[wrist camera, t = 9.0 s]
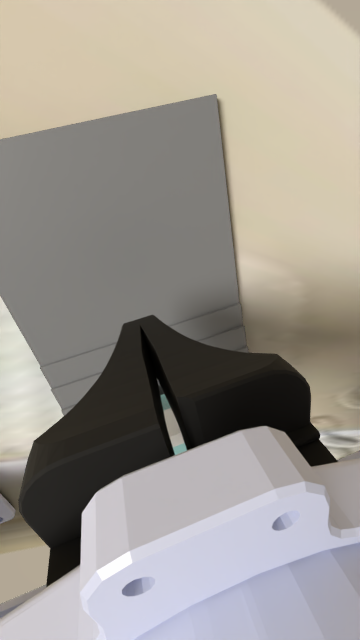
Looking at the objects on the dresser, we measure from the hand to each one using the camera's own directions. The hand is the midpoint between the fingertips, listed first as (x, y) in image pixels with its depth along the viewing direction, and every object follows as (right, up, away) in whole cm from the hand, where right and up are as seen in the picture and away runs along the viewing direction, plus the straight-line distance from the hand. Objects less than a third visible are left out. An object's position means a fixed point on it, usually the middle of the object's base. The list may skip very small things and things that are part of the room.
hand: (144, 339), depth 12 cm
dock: (-1, -1, +6) cm, 6 cm away
